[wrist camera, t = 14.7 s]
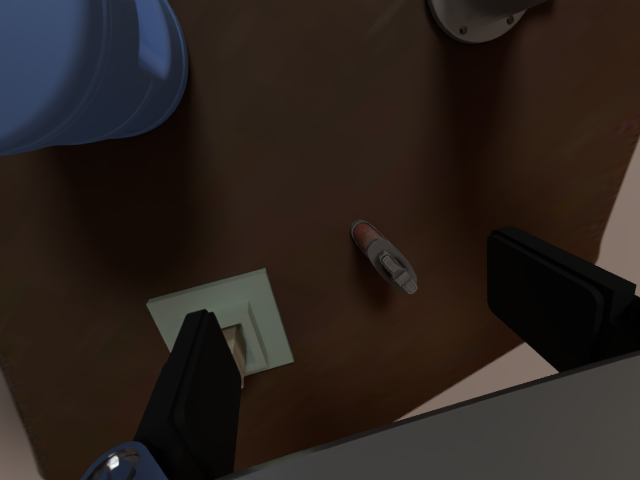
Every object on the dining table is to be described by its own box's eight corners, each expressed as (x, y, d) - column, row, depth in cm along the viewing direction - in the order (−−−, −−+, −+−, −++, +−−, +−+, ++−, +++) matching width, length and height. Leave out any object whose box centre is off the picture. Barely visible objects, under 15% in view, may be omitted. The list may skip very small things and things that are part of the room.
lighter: (398, 254, 44) (434, 290, 35) (379, 270, 45) (410, 309, 35) (364, 213, 41) (393, 241, 32) (344, 231, 42) (367, 263, 32)
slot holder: (265, 268, 42) (265, 283, 38) (292, 356, 47) (295, 377, 43) (149, 299, 40) (137, 318, 36) (191, 385, 46) (185, 410, 42)
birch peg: (236, 318, 42) (231, 361, 35) (246, 342, 44) (243, 387, 36) (206, 327, 42) (195, 372, 34) (217, 350, 43) (208, 398, 36)
